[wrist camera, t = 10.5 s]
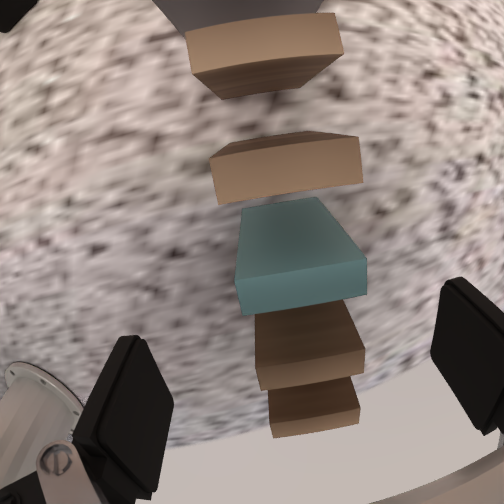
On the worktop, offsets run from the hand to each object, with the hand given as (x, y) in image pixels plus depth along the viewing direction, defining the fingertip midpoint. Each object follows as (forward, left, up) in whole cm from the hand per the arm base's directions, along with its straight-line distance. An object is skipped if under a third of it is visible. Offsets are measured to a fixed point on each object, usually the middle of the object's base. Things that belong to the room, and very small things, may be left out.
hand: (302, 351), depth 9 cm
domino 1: (+7, +6, -13) cm, 16 cm away
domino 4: (-3, -3, -13) cm, 14 cm away
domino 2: (+4, +3, -13) cm, 14 cm away
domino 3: (+1, 0, -13) cm, 13 cm away
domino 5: (-6, -6, -13) cm, 16 cm away
